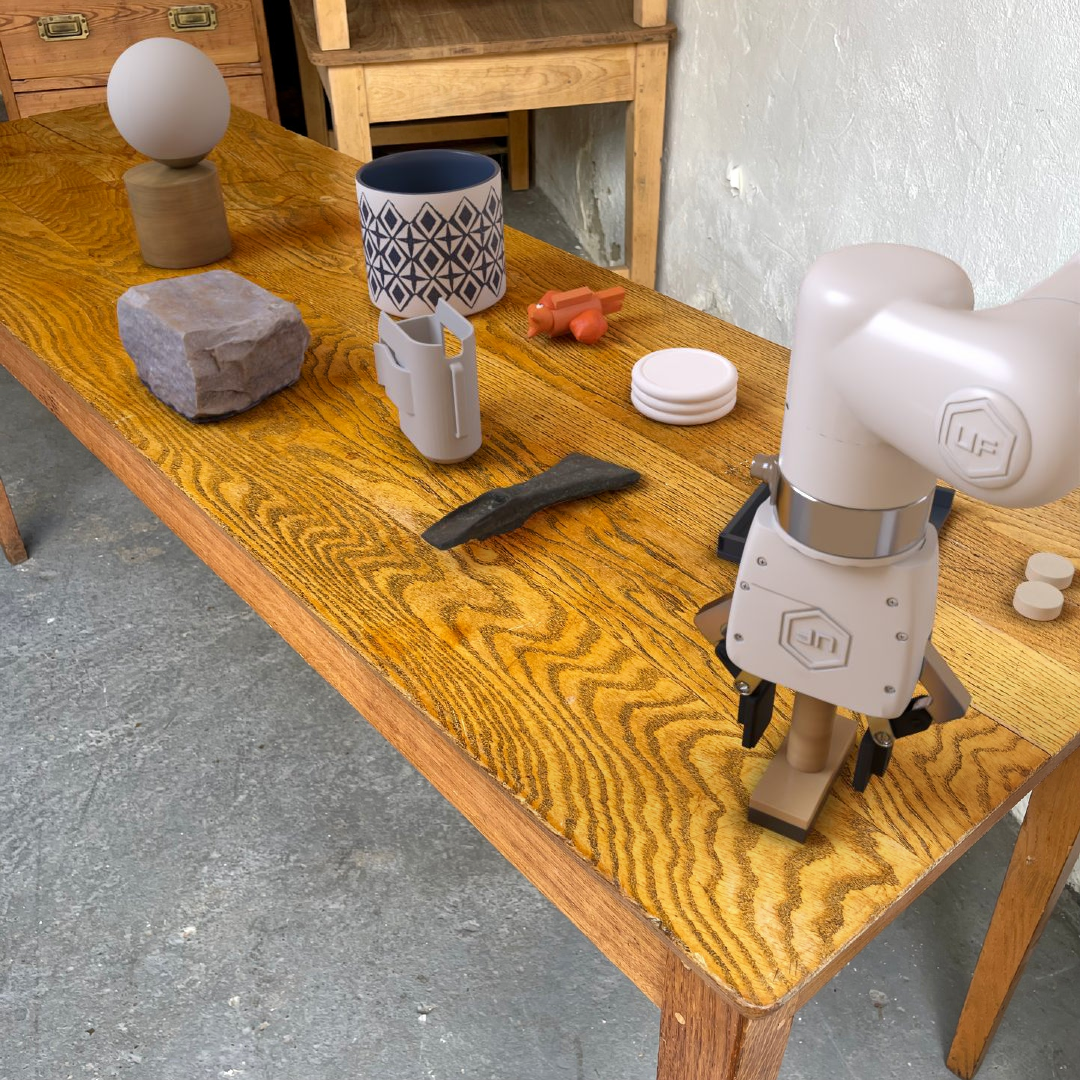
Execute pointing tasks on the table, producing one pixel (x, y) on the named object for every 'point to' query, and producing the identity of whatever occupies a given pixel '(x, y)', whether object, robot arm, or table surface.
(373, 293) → the planter
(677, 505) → the table surface
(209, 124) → the lamp
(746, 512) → the tray
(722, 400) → the coaster
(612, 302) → the orange toy bird
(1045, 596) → the disc
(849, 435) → the robot arm
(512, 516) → the tool
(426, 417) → the cable organizer
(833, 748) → the brush
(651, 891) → the table surface
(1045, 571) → the disc
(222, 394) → the stone block
